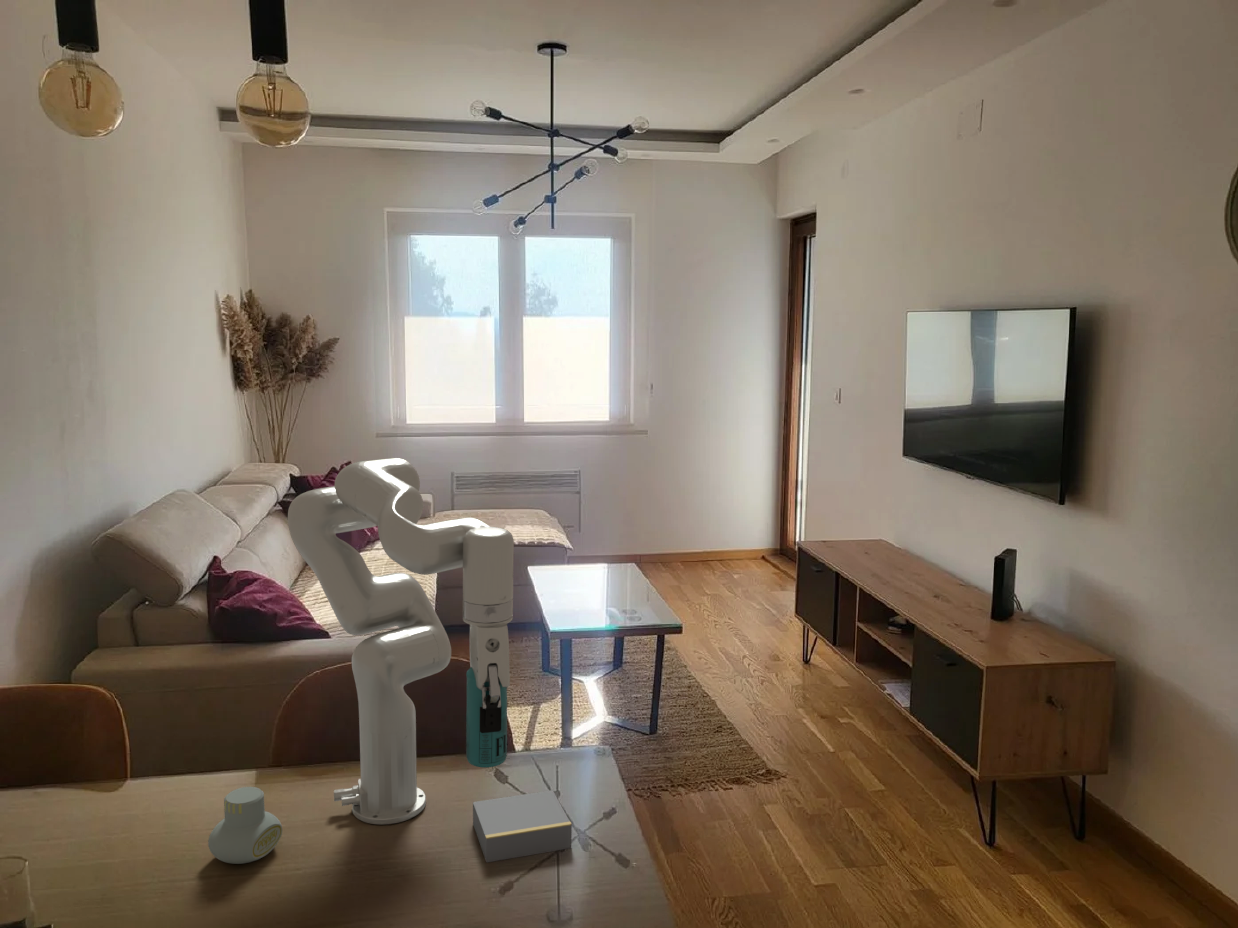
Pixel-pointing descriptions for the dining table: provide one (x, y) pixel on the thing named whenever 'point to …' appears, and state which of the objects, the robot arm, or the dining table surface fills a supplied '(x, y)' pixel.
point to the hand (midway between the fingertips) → (486, 720)
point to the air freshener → (244, 828)
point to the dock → (521, 825)
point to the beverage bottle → (484, 745)
